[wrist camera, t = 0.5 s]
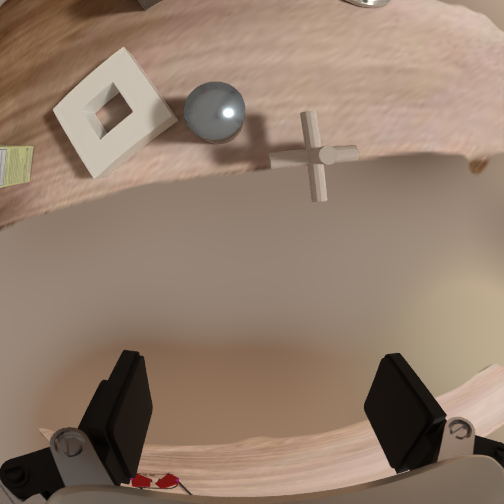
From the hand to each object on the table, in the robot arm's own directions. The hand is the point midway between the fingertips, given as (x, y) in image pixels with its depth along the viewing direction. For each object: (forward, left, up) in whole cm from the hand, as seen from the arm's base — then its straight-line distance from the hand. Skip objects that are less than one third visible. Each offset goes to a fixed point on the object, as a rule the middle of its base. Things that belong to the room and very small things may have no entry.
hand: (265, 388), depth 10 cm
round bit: (-5, -13, -29) cm, 32 cm away
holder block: (+5, -22, -29) cm, 37 cm away
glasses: (+55, +45, -30) cm, 77 cm away
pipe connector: (-11, -3, -29) cm, 31 cm away
